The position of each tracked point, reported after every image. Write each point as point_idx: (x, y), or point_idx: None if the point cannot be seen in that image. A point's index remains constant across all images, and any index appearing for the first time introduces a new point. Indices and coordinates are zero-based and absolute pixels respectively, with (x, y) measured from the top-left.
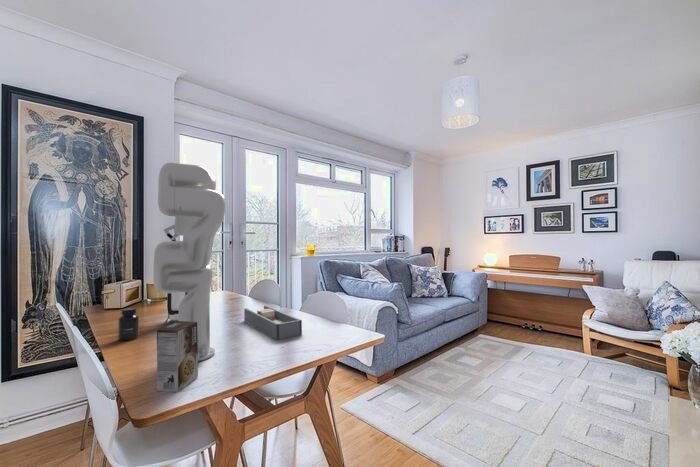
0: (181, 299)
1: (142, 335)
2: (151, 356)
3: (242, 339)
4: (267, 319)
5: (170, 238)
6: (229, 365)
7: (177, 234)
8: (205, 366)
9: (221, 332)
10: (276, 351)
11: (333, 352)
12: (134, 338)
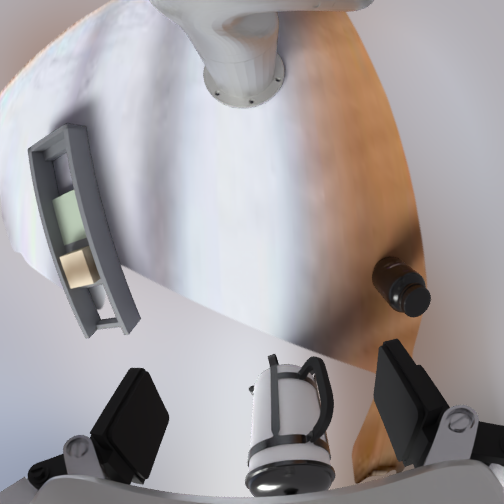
0: (289, 398)
1: (364, 291)
2: (330, 111)
3: (143, 152)
4: (74, 179)
5: (477, 423)
6: None
7: (455, 462)
8: None
9: (187, 235)
10: (102, 61)
11: (45, 50)
12: (378, 263)
